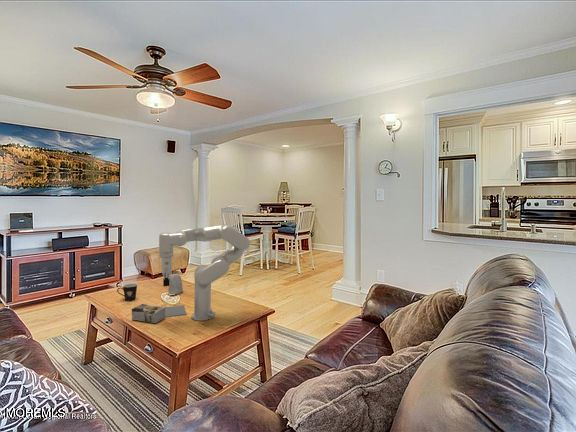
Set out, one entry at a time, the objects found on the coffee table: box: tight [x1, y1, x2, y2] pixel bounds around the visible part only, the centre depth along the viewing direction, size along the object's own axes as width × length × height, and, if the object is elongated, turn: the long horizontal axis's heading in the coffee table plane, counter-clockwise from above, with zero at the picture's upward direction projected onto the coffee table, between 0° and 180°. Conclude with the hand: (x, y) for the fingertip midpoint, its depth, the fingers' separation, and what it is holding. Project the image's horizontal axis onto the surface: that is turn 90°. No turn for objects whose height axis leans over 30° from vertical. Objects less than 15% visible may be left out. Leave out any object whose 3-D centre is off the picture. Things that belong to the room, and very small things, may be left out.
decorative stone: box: [168, 273, 184, 295], centre depth 227 cm, size 11×6×15 cm, turn 154°
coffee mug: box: [116, 283, 138, 302], centre depth 213 cm, size 12×9×10 cm
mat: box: [164, 304, 188, 318], centre depth 193 cm, size 16×24×1 cm, turn 114°
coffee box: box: [131, 303, 166, 324], centre depth 182 cm, size 9×6×16 cm
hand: (166, 285), depth 179 cm, fingers closed
